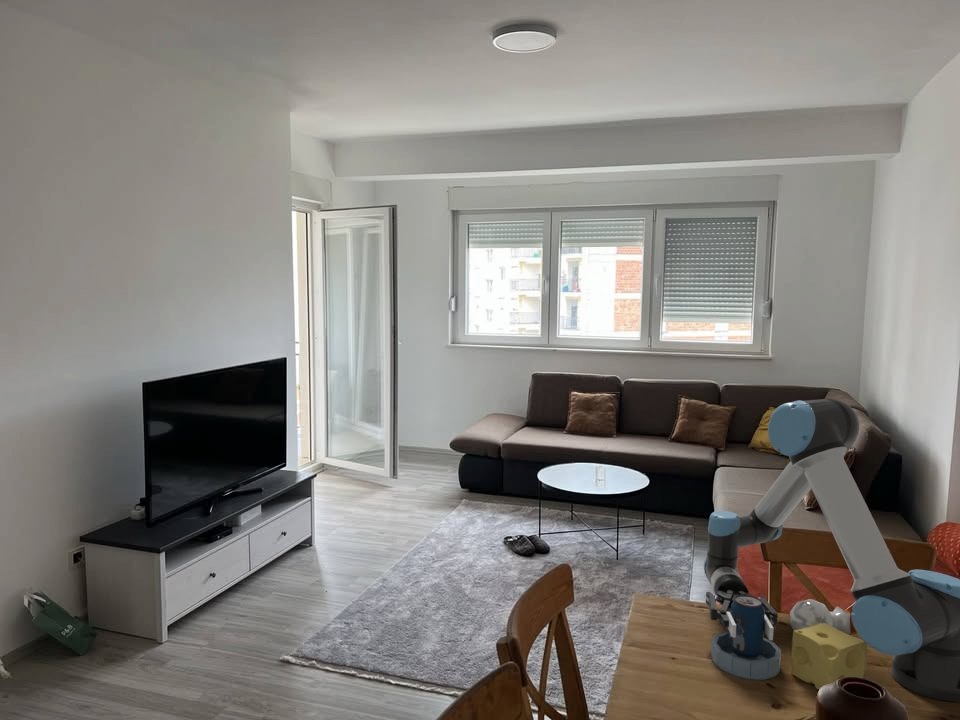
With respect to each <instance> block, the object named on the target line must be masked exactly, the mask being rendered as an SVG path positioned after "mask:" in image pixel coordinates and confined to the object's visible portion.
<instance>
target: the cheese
mask: <svg viewBox="0 0 960 720" xmlns="http://www.w3.org/2000/svg"><path fill="white" fill-rule="evenodd" d="M791 639H792V640H791V656H790V659H791V660H790V667H791V668H790V670H791V671H790V672H791V673H790V674H792V675H793V676H795V677H796V678H798V679H800V680H802V681H803V682H805V683H808V684H813V685H814V687H815V689H817V690H818V689H819V688H820V687H822V686H823V685H826V684H830V683H833V682H835V681H836V680H838V679H840V678H843V677H860V678H863V679H864V675H865V671H866V665H867V659H868V658H867V644H866V643H865V642H864V641H863V640H862V638H860V637H859V638H858V637H856V636H853V635H849V634H846V633H844V632H842V631H840V630H838V629H836V628H834V627H832V626H830V625H828V624H826V623H823V624H818V625H815V626H812V627H808V628H804V629H799V630H794V629H793V631H792V638H791Z"/></svg>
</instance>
